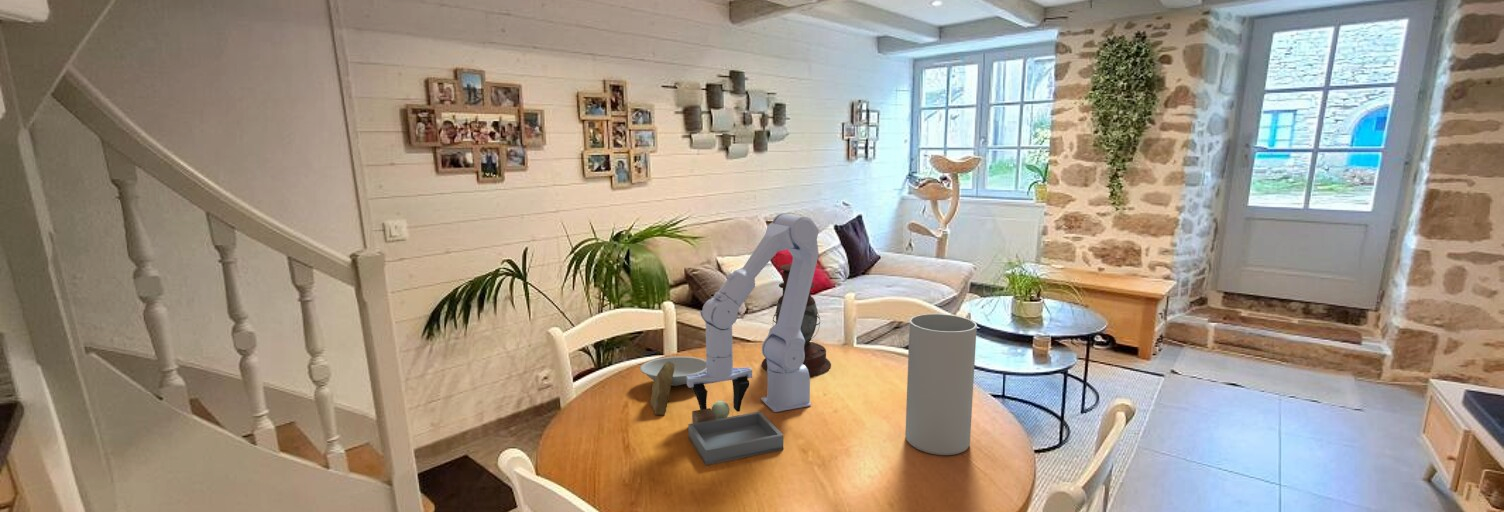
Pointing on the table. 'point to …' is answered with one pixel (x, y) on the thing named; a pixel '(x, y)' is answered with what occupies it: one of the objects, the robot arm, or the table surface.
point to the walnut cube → (703, 415)
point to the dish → (681, 370)
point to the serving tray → (734, 437)
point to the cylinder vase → (940, 383)
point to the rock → (662, 388)
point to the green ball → (720, 409)
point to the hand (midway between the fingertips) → (720, 412)
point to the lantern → (806, 332)
